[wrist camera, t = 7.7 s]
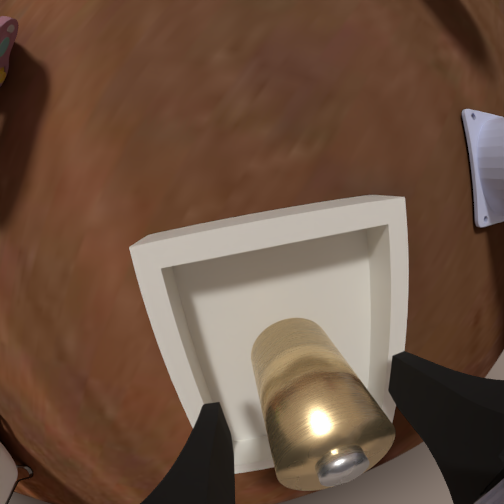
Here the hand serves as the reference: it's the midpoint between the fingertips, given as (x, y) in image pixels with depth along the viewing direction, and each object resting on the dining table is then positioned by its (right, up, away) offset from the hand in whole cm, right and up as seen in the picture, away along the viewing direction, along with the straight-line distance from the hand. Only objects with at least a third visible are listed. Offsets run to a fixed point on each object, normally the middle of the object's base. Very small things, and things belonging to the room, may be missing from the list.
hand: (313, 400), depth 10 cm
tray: (-1, +1, +5) cm, 5 cm away
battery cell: (0, +1, +4) cm, 4 cm away
